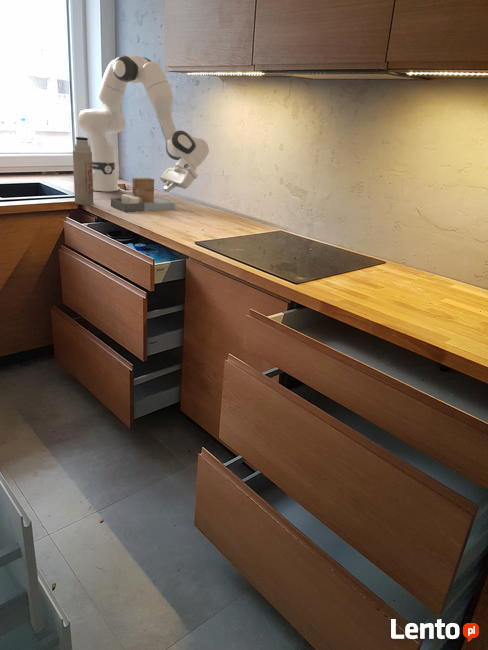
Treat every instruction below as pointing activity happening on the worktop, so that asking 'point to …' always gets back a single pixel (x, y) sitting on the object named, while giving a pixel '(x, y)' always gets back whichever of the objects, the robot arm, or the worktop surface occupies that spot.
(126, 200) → the tile
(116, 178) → the robot arm
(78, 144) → the thermos bottle
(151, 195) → the brown boxy piece
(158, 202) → the board
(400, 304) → the worktop surface
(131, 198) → the tile
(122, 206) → the tray
